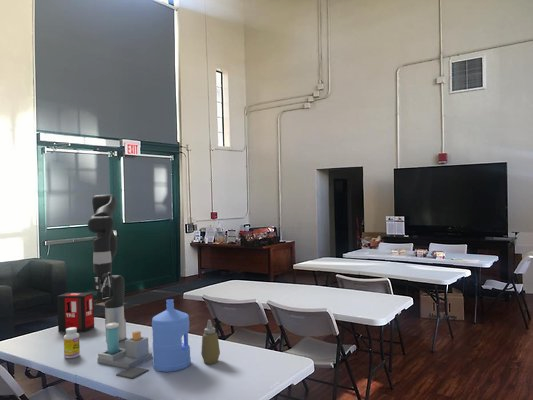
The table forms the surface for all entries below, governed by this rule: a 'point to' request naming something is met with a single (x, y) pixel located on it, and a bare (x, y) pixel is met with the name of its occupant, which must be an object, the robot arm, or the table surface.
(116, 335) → the cylinder
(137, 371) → the mat
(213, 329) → the squeeze bottle
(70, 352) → the supplement bottle
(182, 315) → the water jug
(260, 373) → the table surface
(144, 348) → the housing
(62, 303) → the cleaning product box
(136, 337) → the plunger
